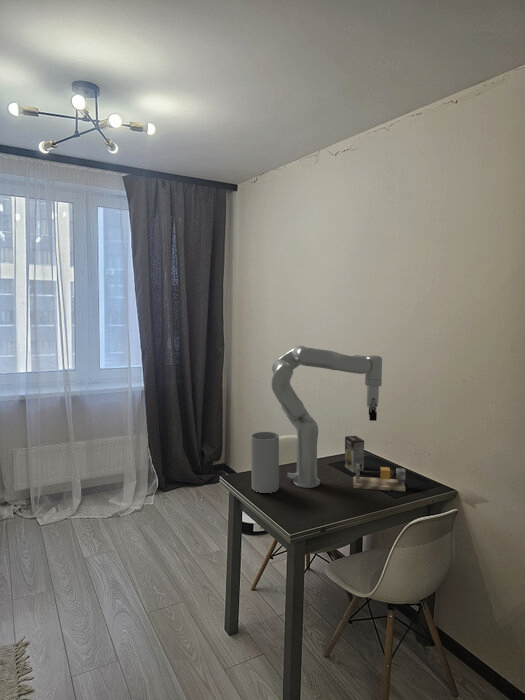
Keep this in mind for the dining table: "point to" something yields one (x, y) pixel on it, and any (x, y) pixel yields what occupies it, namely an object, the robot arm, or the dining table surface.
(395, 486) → the cord rig
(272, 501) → the dining table surface
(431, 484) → the dining table surface
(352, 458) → the coffee box
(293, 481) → the robot arm
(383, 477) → the sleeve
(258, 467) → the cylinder vase
